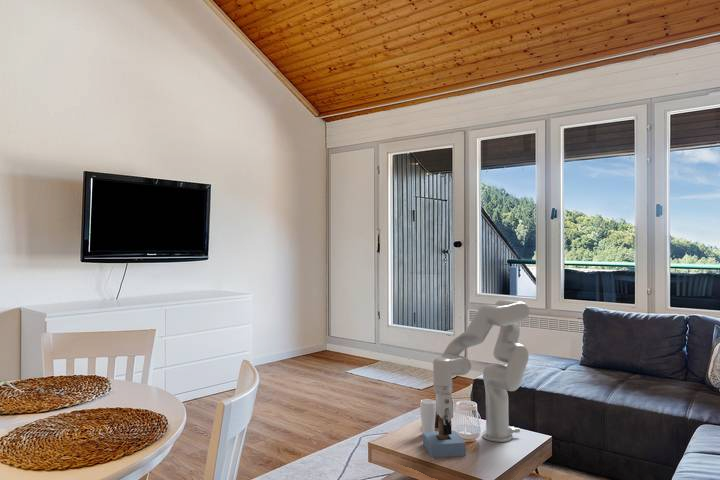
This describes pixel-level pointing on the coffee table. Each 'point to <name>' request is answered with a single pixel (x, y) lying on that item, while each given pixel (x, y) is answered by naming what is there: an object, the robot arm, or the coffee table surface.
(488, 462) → the coffee table surface
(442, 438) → the walnut pin
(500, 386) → the robot arm
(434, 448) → the socket block
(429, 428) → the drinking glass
